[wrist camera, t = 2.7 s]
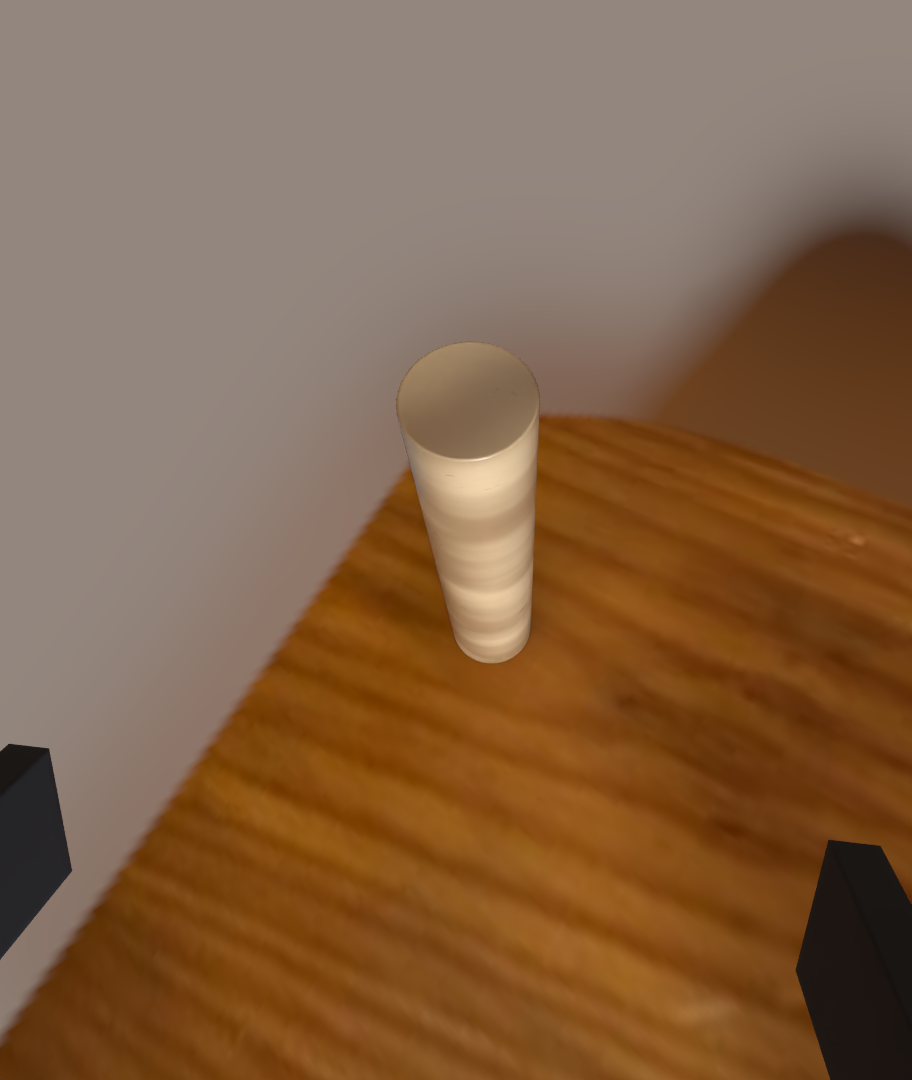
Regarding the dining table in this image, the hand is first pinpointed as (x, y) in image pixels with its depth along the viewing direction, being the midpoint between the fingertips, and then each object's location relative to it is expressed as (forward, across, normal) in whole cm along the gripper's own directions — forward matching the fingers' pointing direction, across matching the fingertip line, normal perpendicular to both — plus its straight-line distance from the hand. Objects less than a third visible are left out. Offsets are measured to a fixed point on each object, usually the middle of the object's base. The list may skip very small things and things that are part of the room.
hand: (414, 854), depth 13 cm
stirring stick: (+18, 0, -5) cm, 19 cm away
